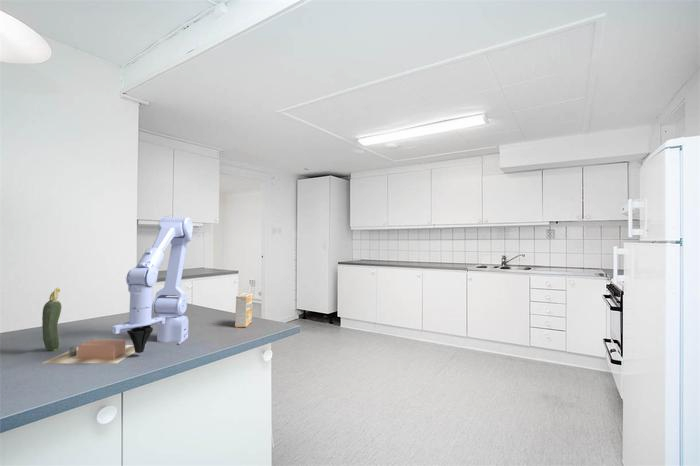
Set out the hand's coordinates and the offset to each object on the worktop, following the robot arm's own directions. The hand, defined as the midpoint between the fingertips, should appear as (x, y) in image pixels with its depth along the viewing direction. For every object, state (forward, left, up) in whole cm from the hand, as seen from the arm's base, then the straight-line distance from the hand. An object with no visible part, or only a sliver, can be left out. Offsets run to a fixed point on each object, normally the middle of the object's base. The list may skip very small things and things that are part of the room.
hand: (139, 352), depth 101 cm
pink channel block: (+10, 0, -1) cm, 11 cm away
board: (+13, -2, -2) cm, 13 cm away
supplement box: (-22, -39, -2) cm, 45 cm away
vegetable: (+29, -5, -2) cm, 29 cm away
